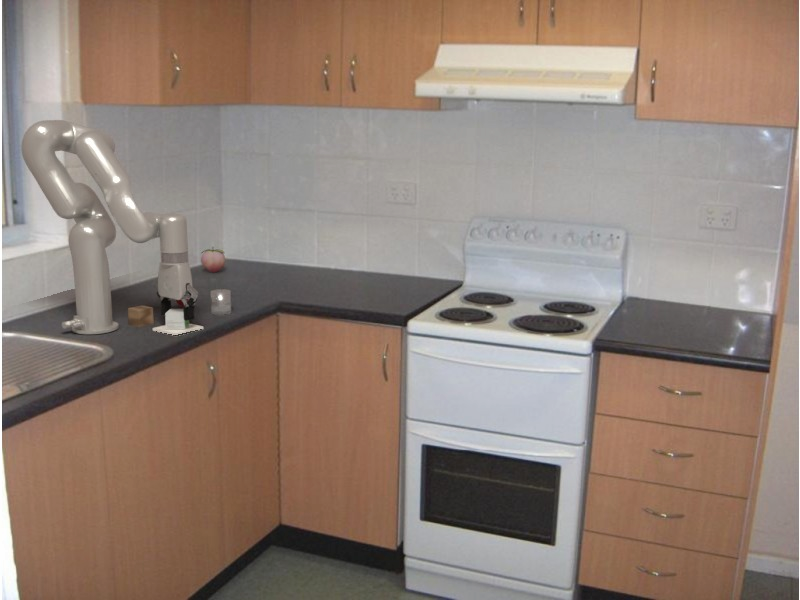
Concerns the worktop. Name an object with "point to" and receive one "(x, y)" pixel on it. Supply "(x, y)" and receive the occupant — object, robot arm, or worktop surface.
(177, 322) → the small box
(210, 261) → the decorative fruit
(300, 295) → the worktop surface
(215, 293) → the tin
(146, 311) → the walnut block
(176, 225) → the robot arm
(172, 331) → the plate
